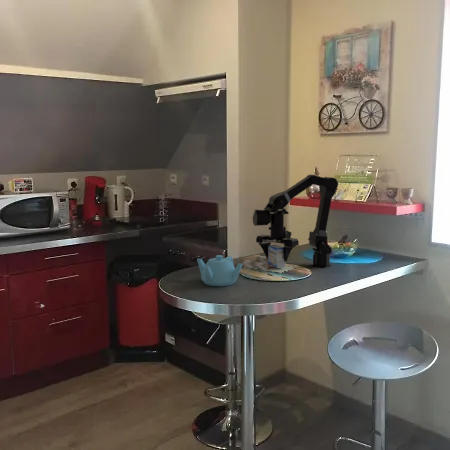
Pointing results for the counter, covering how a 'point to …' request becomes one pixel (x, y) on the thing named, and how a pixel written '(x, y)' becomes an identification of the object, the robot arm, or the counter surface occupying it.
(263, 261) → the shelf lane
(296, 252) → the counter surface
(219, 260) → the teapot
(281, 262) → the medicine box
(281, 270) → the mat
